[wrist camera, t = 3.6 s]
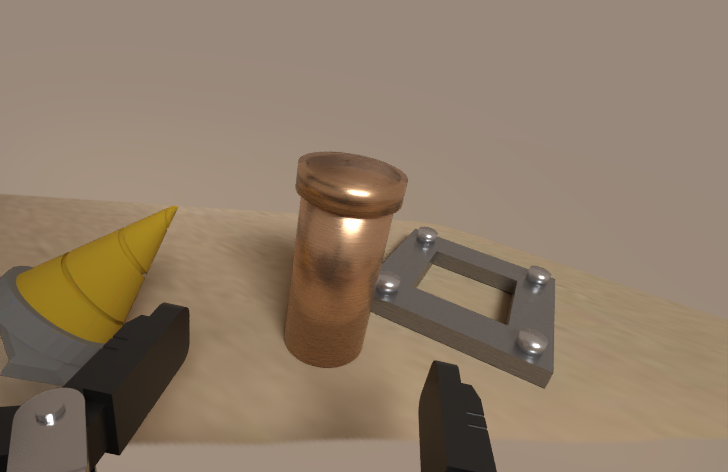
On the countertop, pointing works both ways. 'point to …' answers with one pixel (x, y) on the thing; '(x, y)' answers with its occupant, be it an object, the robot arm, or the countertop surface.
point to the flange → (462, 326)
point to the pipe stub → (338, 253)
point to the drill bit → (75, 301)
